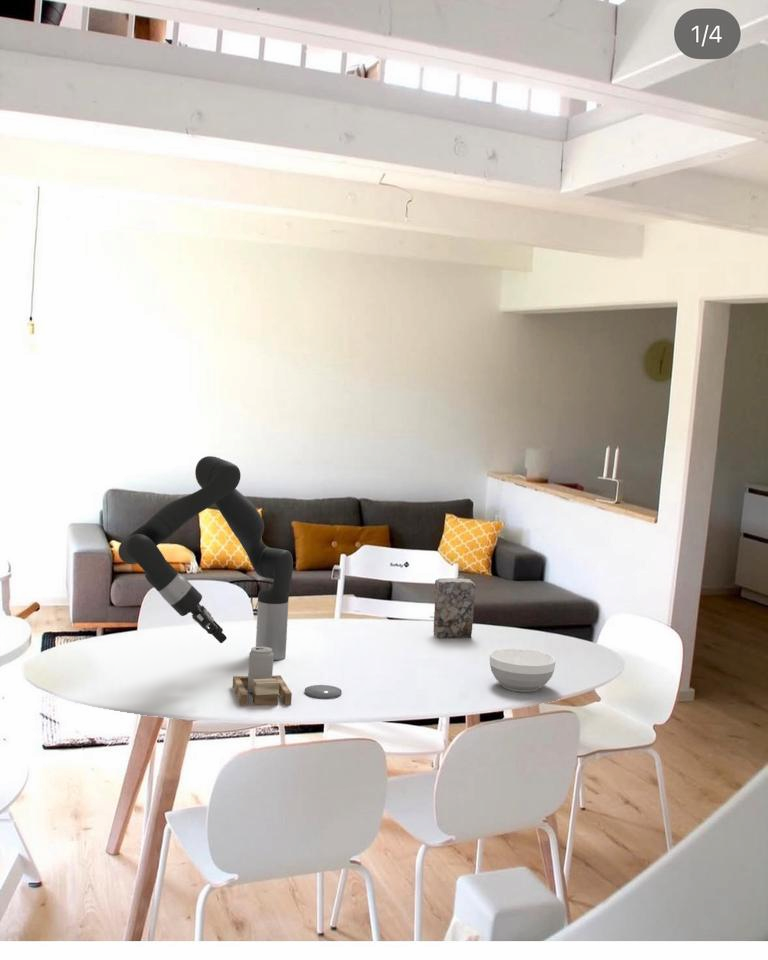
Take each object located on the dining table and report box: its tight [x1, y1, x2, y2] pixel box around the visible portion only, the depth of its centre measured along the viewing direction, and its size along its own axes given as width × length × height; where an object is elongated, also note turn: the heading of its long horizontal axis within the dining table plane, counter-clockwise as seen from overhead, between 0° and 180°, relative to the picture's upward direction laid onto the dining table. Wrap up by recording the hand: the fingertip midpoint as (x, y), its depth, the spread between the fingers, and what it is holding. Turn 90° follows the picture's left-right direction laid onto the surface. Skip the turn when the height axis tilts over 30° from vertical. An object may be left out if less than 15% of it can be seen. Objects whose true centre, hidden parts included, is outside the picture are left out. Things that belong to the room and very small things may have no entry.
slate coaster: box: [304, 684, 343, 700], centre depth 277 cm, size 10×10×1 cm
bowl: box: [489, 648, 557, 693], centre depth 294 cm, size 19×19×9 cm
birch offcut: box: [253, 678, 279, 695], centre depth 265 cm, size 4×6×3 cm, turn 110°
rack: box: [232, 674, 293, 707], centre depth 271 cm, size 17×13×3 cm
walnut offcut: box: [252, 692, 279, 707], centre depth 265 cm, size 4×6×3 cm, turn 106°
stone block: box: [433, 577, 477, 639], centre depth 351 cm, size 13×7×20 cm, turn 109°
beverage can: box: [247, 646, 274, 695], centre depth 273 cm, size 6×6×12 cm
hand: (222, 636), depth 270 cm, fingers open, 8 cm apart
